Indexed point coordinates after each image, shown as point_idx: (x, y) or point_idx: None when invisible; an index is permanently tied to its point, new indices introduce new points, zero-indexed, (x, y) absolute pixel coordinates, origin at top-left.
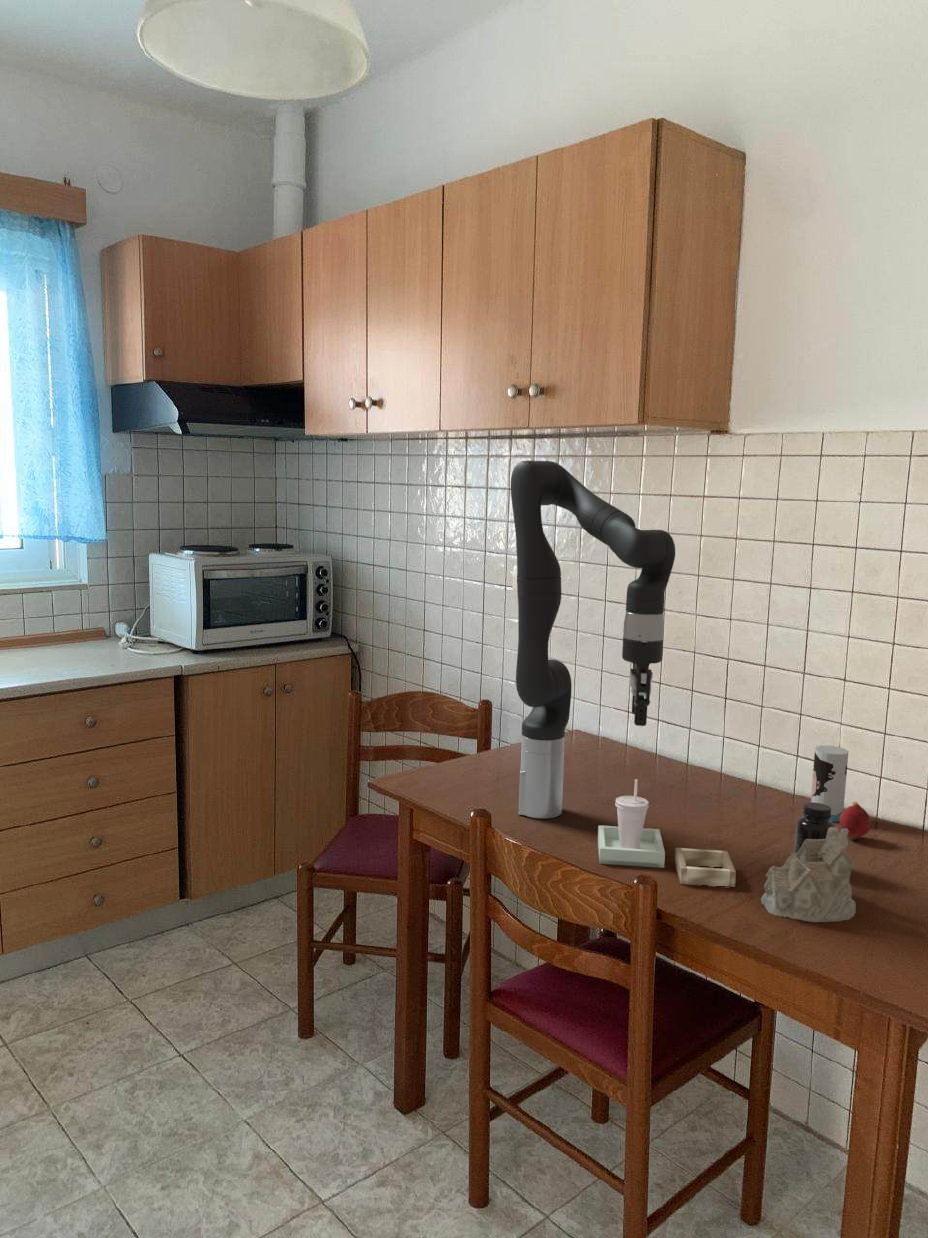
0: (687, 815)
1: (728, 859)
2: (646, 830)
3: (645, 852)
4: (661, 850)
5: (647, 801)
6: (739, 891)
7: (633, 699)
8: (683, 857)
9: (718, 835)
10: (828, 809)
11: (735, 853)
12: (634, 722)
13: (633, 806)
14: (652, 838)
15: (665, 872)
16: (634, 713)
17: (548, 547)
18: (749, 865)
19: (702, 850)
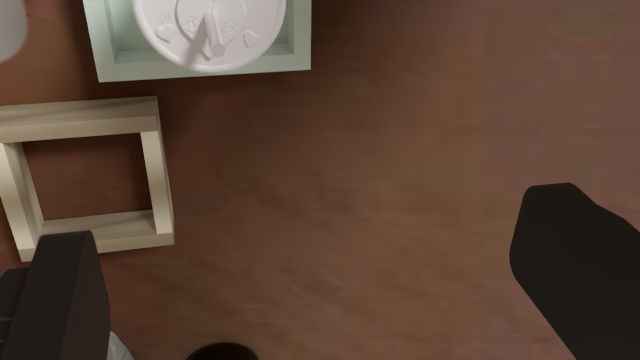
0: (522, 138)
1: (110, 246)
2: (293, 27)
3: (87, 16)
4: (114, 71)
5: (223, 69)
6: (14, 242)
7: (631, 287)
8: (78, 136)
9: (383, 206)
10: None
11: (268, 238)
12: (38, 244)
13: (133, 6)
14: (288, 40)
15: (71, 66)
16: (528, 202)
17: None
18: (197, 264)
19: (156, 187)
